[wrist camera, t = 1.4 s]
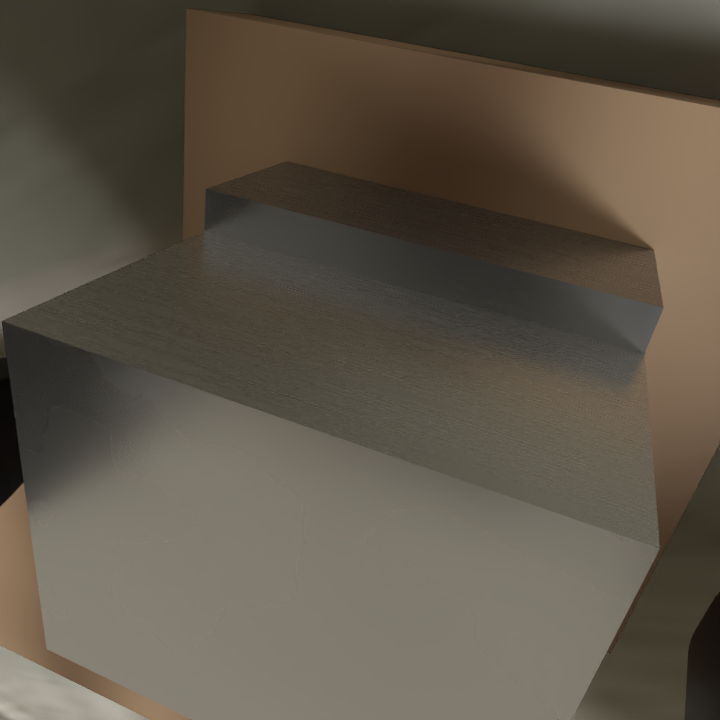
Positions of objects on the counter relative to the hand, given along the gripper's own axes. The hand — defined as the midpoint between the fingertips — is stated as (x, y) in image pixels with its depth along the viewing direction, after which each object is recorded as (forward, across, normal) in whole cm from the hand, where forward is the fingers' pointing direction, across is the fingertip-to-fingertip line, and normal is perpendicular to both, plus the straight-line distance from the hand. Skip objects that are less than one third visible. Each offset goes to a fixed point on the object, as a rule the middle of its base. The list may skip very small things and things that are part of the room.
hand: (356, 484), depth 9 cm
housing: (+4, 0, 0) cm, 4 cm away
